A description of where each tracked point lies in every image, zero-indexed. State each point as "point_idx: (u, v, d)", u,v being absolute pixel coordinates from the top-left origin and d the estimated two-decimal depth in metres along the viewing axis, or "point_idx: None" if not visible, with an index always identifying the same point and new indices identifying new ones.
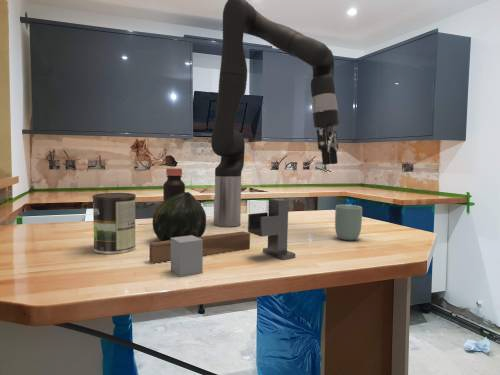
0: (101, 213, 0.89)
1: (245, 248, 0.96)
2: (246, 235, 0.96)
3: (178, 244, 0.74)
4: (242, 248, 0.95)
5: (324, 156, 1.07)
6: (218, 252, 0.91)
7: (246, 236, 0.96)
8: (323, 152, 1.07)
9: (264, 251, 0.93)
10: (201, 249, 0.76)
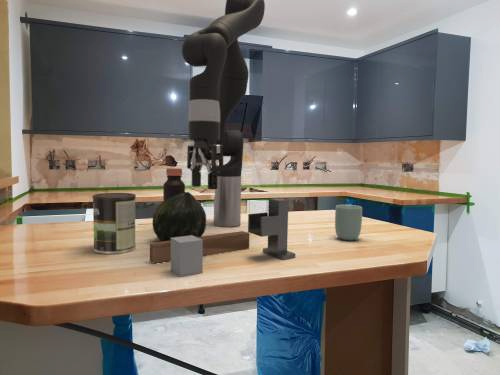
0: (101, 213, 0.89)
1: (245, 248, 0.96)
2: (245, 235, 0.96)
3: (178, 244, 0.74)
4: (242, 248, 0.96)
5: None
6: (218, 252, 0.92)
7: (246, 236, 0.96)
8: None
9: (264, 251, 0.93)
10: (201, 249, 0.76)
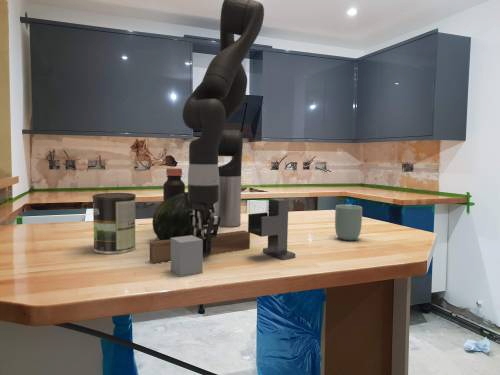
0: (101, 213, 0.89)
1: (245, 247, 0.96)
2: (246, 234, 0.96)
3: (178, 244, 0.74)
4: (242, 247, 0.95)
5: None
6: (218, 251, 0.91)
7: (246, 235, 0.96)
8: None
9: (264, 251, 0.93)
10: (201, 249, 0.76)
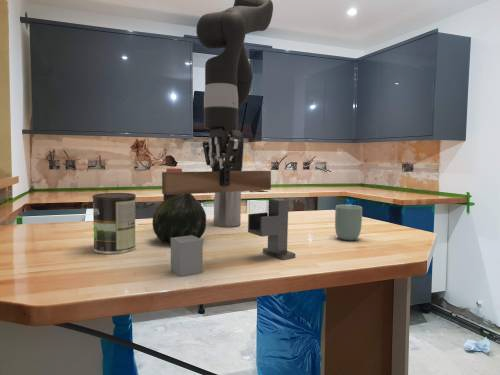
0: (101, 213, 0.89)
1: (266, 187, 0.87)
2: (266, 173, 0.87)
3: (178, 244, 0.74)
4: (263, 186, 0.87)
5: None
6: (237, 188, 0.83)
7: (267, 173, 0.87)
8: None
9: (264, 251, 0.93)
10: (201, 249, 0.76)
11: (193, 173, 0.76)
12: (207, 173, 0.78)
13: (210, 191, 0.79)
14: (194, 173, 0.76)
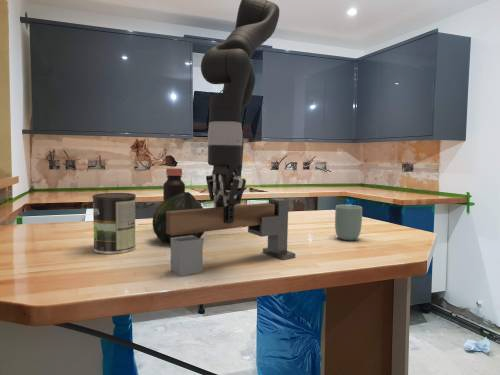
0: (101, 213, 0.89)
1: None
2: (270, 206, 0.87)
3: (178, 244, 0.74)
4: None
5: None
6: (241, 224, 0.82)
7: (270, 207, 0.87)
8: None
9: (264, 251, 0.93)
10: (201, 249, 0.76)
11: (197, 212, 0.76)
12: (211, 211, 0.78)
13: (214, 229, 0.79)
14: (198, 212, 0.76)
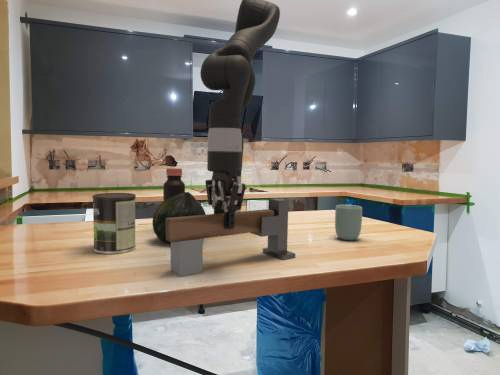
0: (101, 213, 0.89)
1: None
2: (269, 213, 0.87)
3: (178, 244, 0.74)
4: None
5: None
6: (240, 230, 0.83)
7: (270, 214, 0.87)
8: None
9: (264, 251, 0.93)
10: (201, 249, 0.76)
11: (197, 219, 0.76)
12: (211, 218, 0.78)
13: (213, 235, 0.79)
14: (198, 219, 0.76)
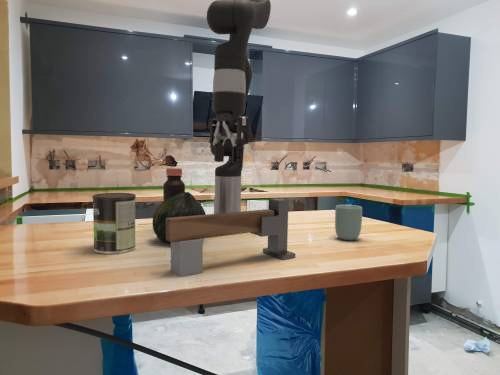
0: (101, 213, 0.89)
1: None
2: (269, 213, 0.87)
3: (178, 244, 0.74)
4: None
5: None
6: (240, 230, 0.83)
7: (270, 214, 0.87)
8: None
9: (264, 251, 0.93)
10: (201, 249, 0.76)
11: (197, 219, 0.76)
12: (211, 218, 0.78)
13: (213, 235, 0.79)
14: (198, 219, 0.76)
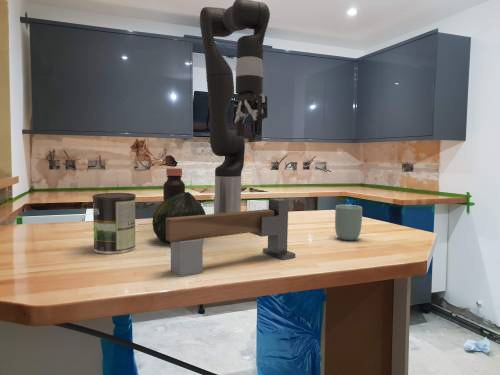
0: (101, 213, 0.89)
1: None
2: (269, 213, 0.87)
3: (178, 244, 0.74)
4: None
5: None
6: (240, 230, 0.83)
7: (270, 214, 0.87)
8: None
9: (264, 251, 0.93)
10: (201, 249, 0.76)
11: (197, 219, 0.76)
12: (211, 218, 0.78)
13: (213, 235, 0.79)
14: (198, 219, 0.76)
